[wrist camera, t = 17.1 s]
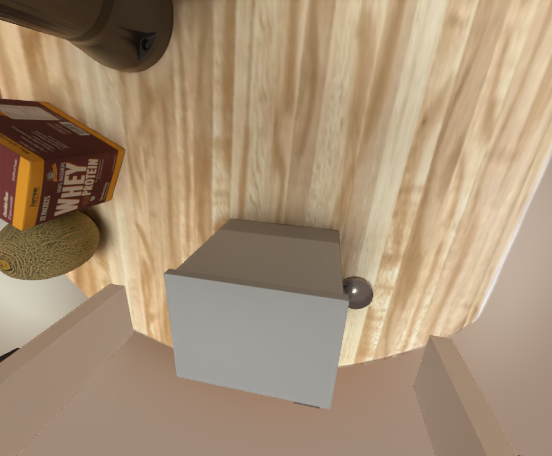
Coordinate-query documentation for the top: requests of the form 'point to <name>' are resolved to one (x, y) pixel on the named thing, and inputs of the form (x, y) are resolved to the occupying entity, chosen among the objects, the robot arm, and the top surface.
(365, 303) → the steel puck
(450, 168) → the top surface
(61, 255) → the fruit
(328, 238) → the cabinet
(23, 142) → the supplement box
